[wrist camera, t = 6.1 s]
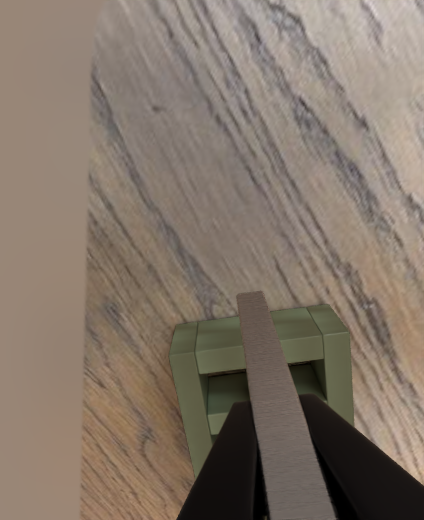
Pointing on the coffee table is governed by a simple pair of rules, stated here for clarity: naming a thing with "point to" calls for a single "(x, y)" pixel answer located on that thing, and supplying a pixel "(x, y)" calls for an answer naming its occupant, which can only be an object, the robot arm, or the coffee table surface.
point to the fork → (280, 423)
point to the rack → (236, 385)
